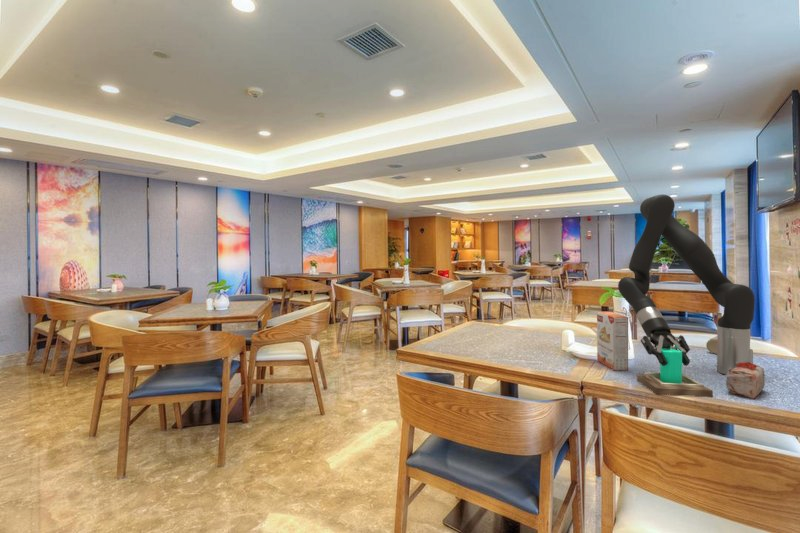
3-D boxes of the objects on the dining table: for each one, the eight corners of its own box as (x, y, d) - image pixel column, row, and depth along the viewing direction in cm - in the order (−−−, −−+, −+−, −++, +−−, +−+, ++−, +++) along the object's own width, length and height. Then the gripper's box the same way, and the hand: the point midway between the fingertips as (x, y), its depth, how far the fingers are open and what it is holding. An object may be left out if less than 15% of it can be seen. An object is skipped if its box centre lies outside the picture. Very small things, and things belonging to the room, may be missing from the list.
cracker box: (596, 360, 162) (596, 311, 161) (610, 361, 162) (611, 311, 161) (612, 370, 148) (612, 316, 147) (628, 371, 148) (629, 316, 147)
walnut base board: (687, 382, 134) (687, 373, 134) (712, 396, 120) (712, 386, 120) (637, 380, 137) (637, 371, 137) (656, 394, 123) (656, 384, 123)
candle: (685, 385, 125) (686, 348, 125) (664, 383, 127) (665, 347, 126) (676, 379, 131) (676, 344, 131) (656, 378, 132) (657, 343, 132)
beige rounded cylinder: (704, 352, 173) (705, 335, 173) (712, 350, 177) (713, 333, 177) (734, 358, 164) (735, 340, 164) (742, 355, 168) (742, 338, 168)
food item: (757, 401, 117) (758, 369, 116) (724, 394, 123) (724, 363, 123) (766, 391, 125) (766, 360, 125) (734, 384, 132) (734, 356, 131)
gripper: (637, 316, 135) (660, 359, 124) (678, 316, 135) (704, 358, 124) (628, 328, 141) (649, 370, 129) (667, 328, 141) (691, 369, 130)
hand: (676, 364), depth 127 cm, fingers open, 6 cm apart
